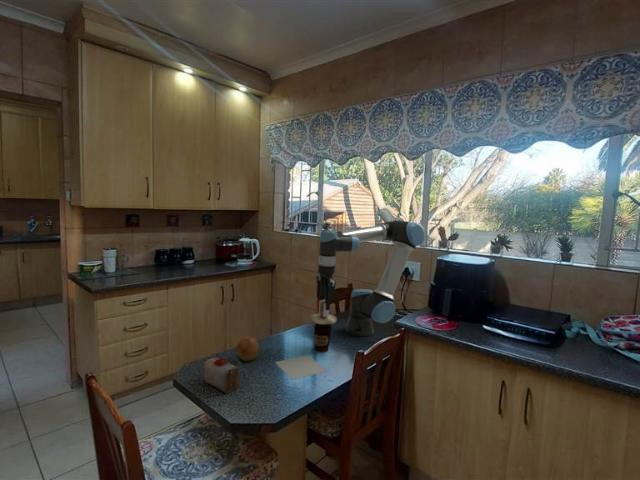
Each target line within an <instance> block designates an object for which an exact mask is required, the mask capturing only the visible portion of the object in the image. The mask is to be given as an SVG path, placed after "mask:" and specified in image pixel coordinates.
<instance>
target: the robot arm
mask: <svg viewBox="0 0 640 480" xmlns="http://www.w3.org/2000/svg"><path fill="white" fill-rule="evenodd" d="M425 235H426V234H425V228H424V226H423V225H422V224H420V223H419V222H414V221H408V220H391V221H385V222H380V223H377V224H376V225H373V226H367V227H360V228H355V229H354V228H353V229H347V230H340V231H336V230H321V231H320V236H319V248H318V249H319V252H318V269H317V272H318V274H319V275H316V298H318V300H319V301H318V303H319V304H318V313H319V314H320V311H321V302H324V310H323V317H328V316H329V314H330V309H331V308H330V307H331V303H334V298H335V290H336V285H337V282H336V281H334V278H333V275H334V274H335V272H336V266H335V265H336V255H337V254H336V253H339V252H340V253H341V252H350V253H351V252H356V251H357V250H359V247H360V244H361V243H366V242H367V243H368V242H374V241H380V242H384V241H389V242H392V243H393V246H394V247H393V248H392V249H393V250H392V251H391V254H390V256H389V259H388V261H387V262H386V263H387V264H386V266H385V268H384V272H383V274H382V276H381V278H380V281H379V282H378V285H377V288H376V289H367V288H366V289H365V288H364V289H363V288H358V289H354V290H352V291H351V293H350V307H349V317H348V321H347V323H346V324H345V331H346V333H347V334H349V335H352V336H357V337H369V336H372V335H373V334H374V332H375V331H374V325H373V321H374V322H377V323H379V324H385V323H387V322H389V321H391V320H392V319H393V317H394V315H395V314H396V305H395V303H394V302H395V298H394V293H395V292H396V289H397V287H398V285H399V282H400V279H401V277H402V275H403V272H404V269H405V266H406V264H407V262H408V259H409V257H410V255H411V253H412V252H414V251H415V250H416V248H417V247H418V246H421V245H422V244H423V243H424V240H425V237H426V236H425Z"/></svg>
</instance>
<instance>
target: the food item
mask: <svg viewBox="0 0 640 480" xmlns="http://www.w3.org/2000/svg"><path fill="white" fill-rule="evenodd" d="M203 371H204V372H203V375H204V376H203V377H204V383H206V384H208V385H211V386H212V387H215V388H216V389H218V390H220V391H221V392H224V393H226V394H229V393H231V392H232V391H234V390H237V389H238V388H239V384H240V383H239V379H240V367H238V366H236V365H235V364H232V363H230V362H229V360H228V357H225V358H223V357H219V358H217V357H211V358H209V359H207V360H206V361H204V363H203Z"/></svg>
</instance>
